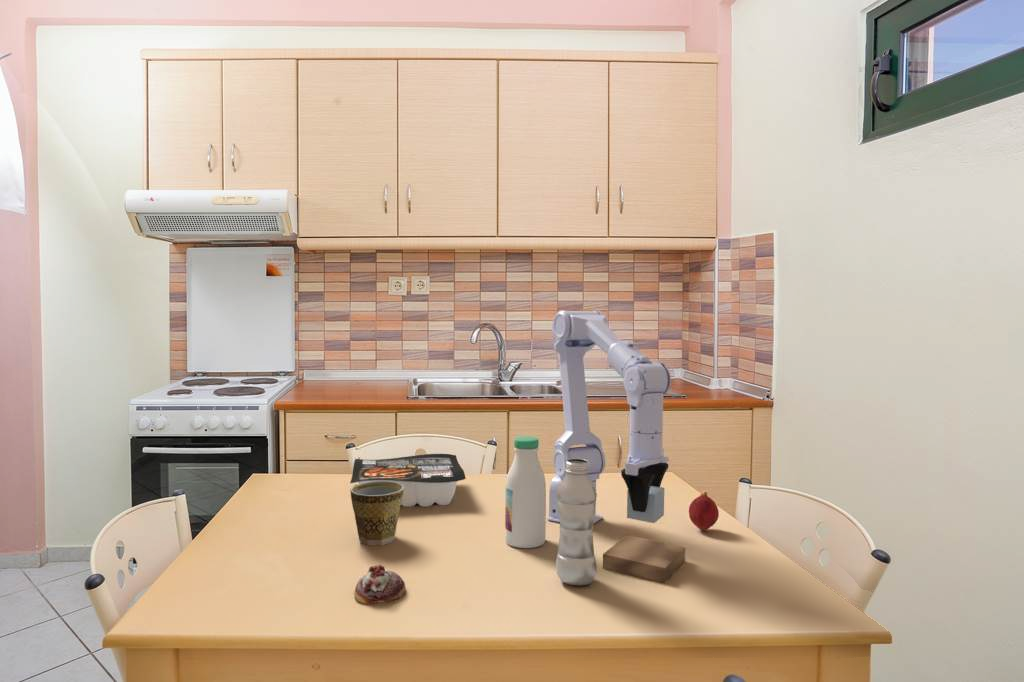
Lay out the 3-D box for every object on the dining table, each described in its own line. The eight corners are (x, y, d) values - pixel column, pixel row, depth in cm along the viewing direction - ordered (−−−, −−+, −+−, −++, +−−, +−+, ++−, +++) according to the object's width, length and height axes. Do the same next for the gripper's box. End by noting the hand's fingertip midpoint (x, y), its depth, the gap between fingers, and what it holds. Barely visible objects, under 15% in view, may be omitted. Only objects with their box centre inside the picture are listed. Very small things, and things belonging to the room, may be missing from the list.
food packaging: (349, 480, 139) (355, 455, 161) (349, 514, 140) (355, 485, 162) (465, 475, 144) (456, 452, 166) (465, 509, 144) (455, 481, 166)
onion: (719, 536, 127) (720, 496, 127) (689, 534, 129) (690, 494, 128) (716, 527, 133) (717, 488, 133) (687, 524, 134) (688, 486, 134)
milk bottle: (551, 538, 126) (552, 436, 124) (536, 552, 119) (537, 444, 117) (515, 532, 129) (516, 432, 128) (498, 545, 122) (499, 440, 121)
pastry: (357, 609, 96) (357, 576, 96) (350, 588, 103) (350, 558, 103) (410, 600, 99) (410, 568, 99) (400, 581, 106) (400, 551, 106)
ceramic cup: (414, 539, 125) (414, 487, 124) (370, 553, 117) (370, 499, 117) (374, 523, 133) (374, 475, 133) (331, 535, 126) (331, 484, 126)
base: (602, 568, 112) (602, 554, 111) (626, 548, 121) (626, 535, 121) (664, 583, 106) (665, 568, 106) (684, 560, 115) (685, 547, 115)
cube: (626, 517, 114) (627, 490, 114) (637, 510, 119) (637, 483, 118) (654, 523, 112) (654, 494, 111) (663, 515, 116) (664, 487, 116)
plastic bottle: (585, 594, 101) (588, 468, 100) (548, 584, 105) (549, 462, 104) (602, 579, 107) (605, 460, 106) (566, 570, 110) (568, 454, 109)
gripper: (654, 440, 106) (652, 522, 107) (680, 426, 119) (679, 500, 119) (614, 435, 110) (612, 514, 110) (643, 423, 122) (642, 494, 123)
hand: (644, 506), depth 115 cm, fingers closed on cube, 5 cm apart
